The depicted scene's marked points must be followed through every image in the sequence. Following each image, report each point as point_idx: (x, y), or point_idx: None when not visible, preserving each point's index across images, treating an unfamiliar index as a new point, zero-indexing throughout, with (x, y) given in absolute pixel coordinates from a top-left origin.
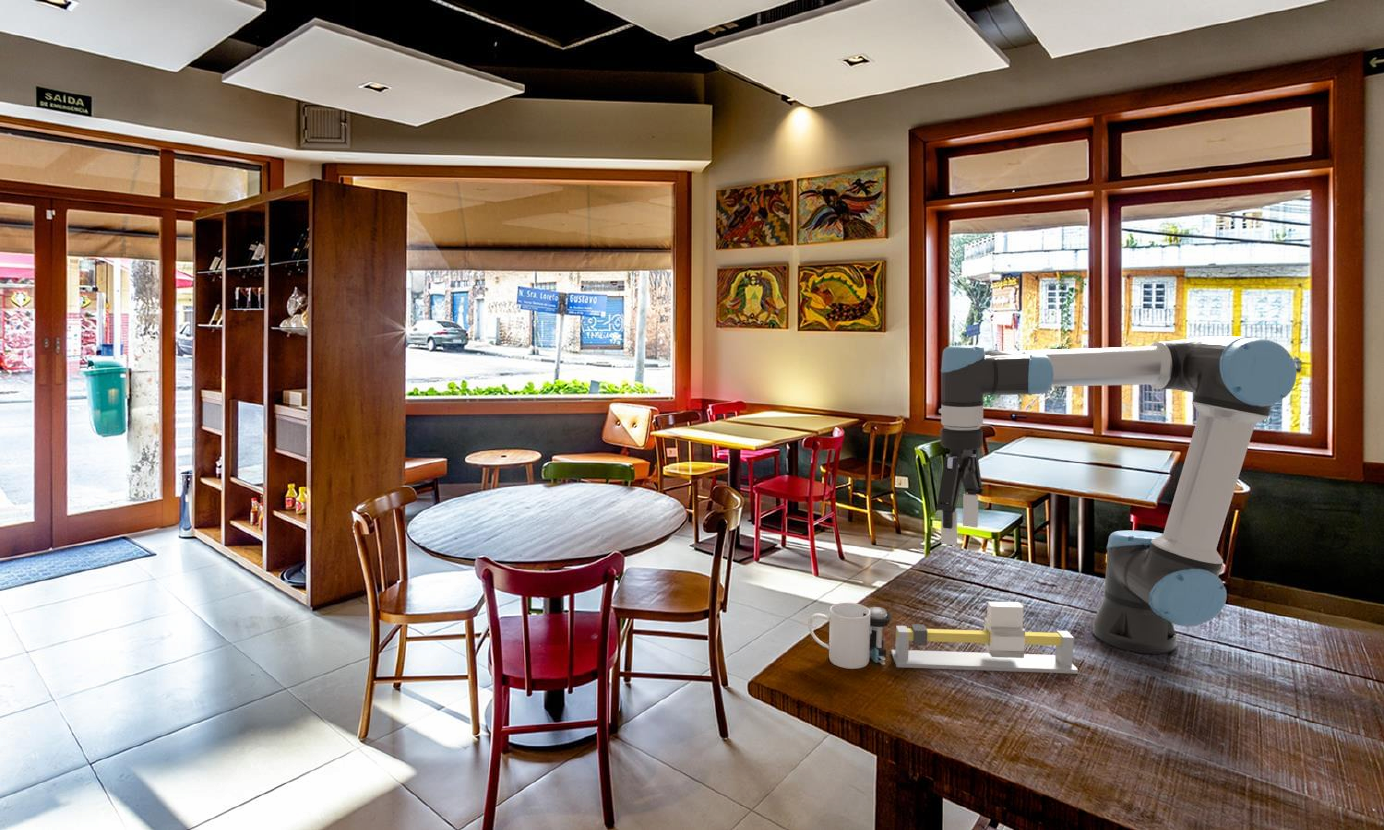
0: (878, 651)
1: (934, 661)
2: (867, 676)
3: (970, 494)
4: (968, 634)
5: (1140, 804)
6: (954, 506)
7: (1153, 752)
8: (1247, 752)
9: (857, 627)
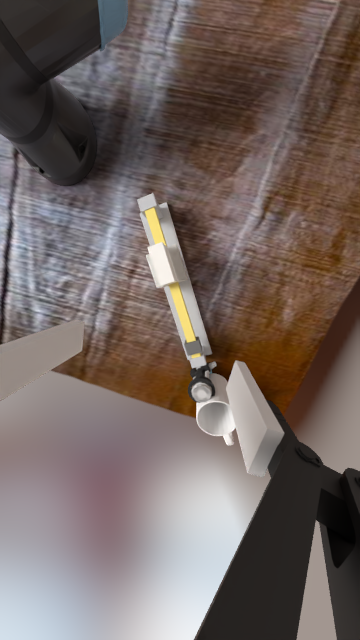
0: (211, 371)
1: (197, 325)
2: None
3: None
4: (183, 302)
5: None
6: (311, 465)
7: (296, 142)
8: (273, 49)
9: None
